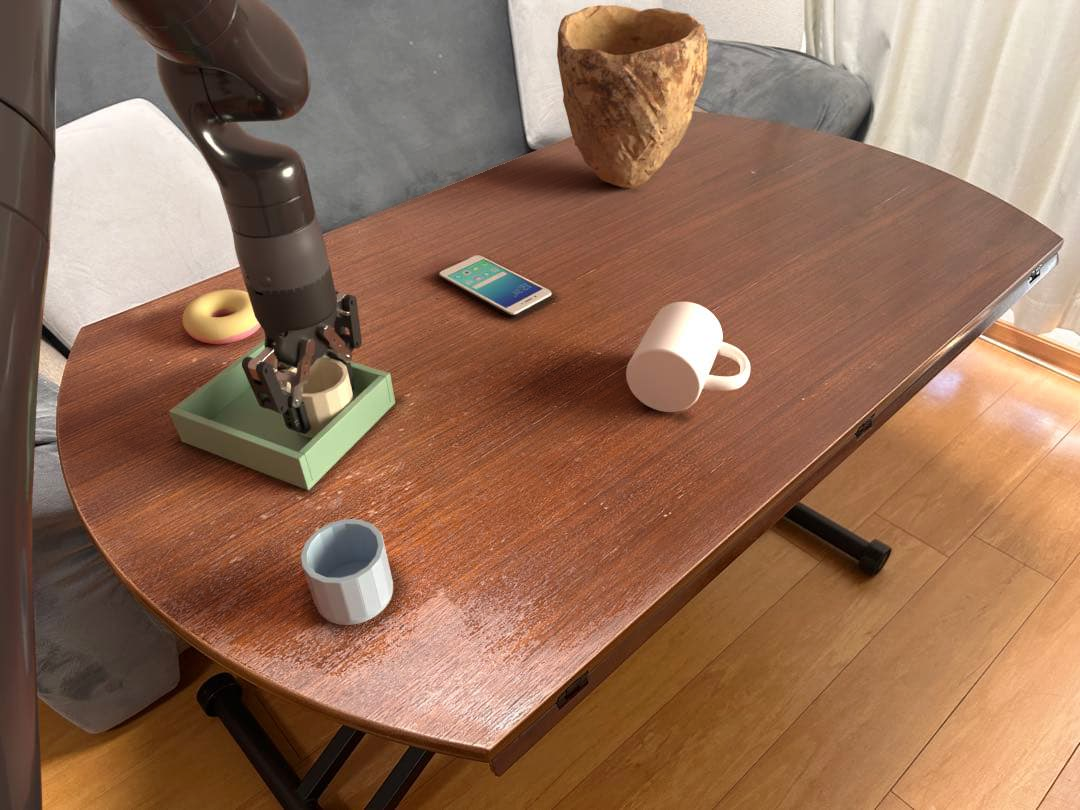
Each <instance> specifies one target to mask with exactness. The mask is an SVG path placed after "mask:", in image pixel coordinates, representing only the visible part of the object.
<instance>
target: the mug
mask: <svg viewBox="0 0 1080 810" xmlns="http://www.w3.org/2000/svg"><path fill="white" fill-rule="evenodd" d="M722 329H723V328H722V327H721V323H720V322H719V320H718V318H717V317H716V315H714V314H713V312H711V311H710V310H709V309H707V308H706V307H704V306H702V305H700V304H698V303H695V302H691V301H675V302H671V303H669V304H667V305H664V306H663V307H662V308H660V310H658V312H657V313H656V314H655V316H654V318H653V320H652V321H651V323H650V325H649V326H648V328H647V330H646V332H645V334H644V335H643V337H642V338H641V341H640V342H639V344H638V346H637V347H636V350H635V351H634V353H633V354H632V357H631V358H630V360H629V362H628V364H627V366H626V371H625V377H626V382H627V385H628V387H629V389H630V391H631V393H632V395H634V397H635V398H636V399H637V400H638V401H639V402H641V403H643V404H644V405H645V406H647V407H648V408H651V409H653V410H656V411H659V412H664V413H678V412H681V411H684V410H687V409H689V408H691V407H692V406H693V405H694V404H695V403H697V401H698V400H699V398H700V396H701V393H702V391H703V390H708V391H715V392H716V391H718V392H728V391H729V392H730V391H734V390H738V389H741V387H743V386H744V385H745V384H746V383H747V382H748V380H749V377H750V374H751V363H750V361H749V359H748V357H747V356H746V355H745V353H744V352H743V351H742V350H740V349H739V348H738V347H736V346H735V345H732V344H730V343H727V342H725V341H723V330H722ZM717 356H722V357H726V358H728V359H731V360H733V361H735V362H736V363H738V365H739V367H740V370H739V372H738V373H737V374H735V375H729V376H721V375H720V376H719V375H712V374H710V372H711V371H712V370H711V369H712V367H713V365H714V363H715V360H716V358H717Z"/></svg>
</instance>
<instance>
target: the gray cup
mask: <svg viewBox="0 0 1080 810" xmlns="http://www.w3.org/2000/svg"><path fill="white" fill-rule="evenodd" d="M300 562H301V568H302V571H303V574H304V576H305V579H306V582H307V585H308V589H309V591H310V595H311V597H312V600H313V603H314V605H315V607H316V610H317V611H318V613H319V614H320V615H321V616H322V617H323V619H325V620H327V621H328V622H330V623H333V624H335V625H341V626H354V625H358V624H363V623H365V622H367V621H369V620H371V619H374V618H376V616H378V615H379V614H380V613H382V611H384V610H385V608H386V607H387V606H388V604H389V603H390V602H391V599H392V597H393V593H394V581H393V576H392V571H391V568H390V563H389V559H388V554H387V549H386V545H385V541H384V537H383V533H382V532H381V530H379V529H378V527H376V526H375V525H374V524H373V523H371V522H367V521H365V520H363V519H355V518H354V519H353V518H351V519H350V518H344V519H340V520H336V521H332V522H329V523H327V524H325V525H323V526H322V527H321V528H319V529H316V530H315V531H314V532H313V533H312V534H311V536H310V537H308V539H307V540H306V541H305V542H304V545H303V547H302V549H301V553H300Z"/></svg>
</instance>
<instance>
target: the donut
mask: <svg viewBox="0 0 1080 810" xmlns="http://www.w3.org/2000/svg"><path fill="white" fill-rule="evenodd" d="M182 325H183V327H184V330H185V331H186V332H187V334H188V335H189V336H190V337H191V338H193V339H194V340H197V341H199V342H202V343H206V344H212V345H226V344H231V343H236V342H238V341H241V340H245V339H246V338H249V337H250V336H252V335H254V334H255V333H256V332H257V331H258V330H259V329H260V328H261V325H260V324H259V322H258V321H257V319H256V318H255V315H254V312H253V308H252V305H251V302H250V299H249V295H248V292H247V291H244V290H241V289H218V290H214V291H210V292H207V293H204V294H202V295H200V296H198V297H196V298H194V299H193V300H192V301H191V302H190V303H188V304H187V306H186V307H185V309H184V311H183V313H182Z"/></svg>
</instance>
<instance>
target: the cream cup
mask: <svg viewBox="0 0 1080 810" xmlns="http://www.w3.org/2000/svg"><path fill="white" fill-rule="evenodd" d="M288 371H291V372H294V373H297V368H294V367H291V368H290V369H289V370H288ZM286 391H287V392H290V391H291V384H290V383H289V382H287V390H286ZM353 400H354V397H353V393H352V388H351V384H350V380H349V375H348V371H347V367H346V366H345V365H344V364H343V363H342V362H341V361H338V360H335V359H332V358H318V359H317V360H316V361H315V362H314V364H313V365H312V366H311V367H310V373H309V380H308V383H306V384H304V386H303V394H302V402H304V405H305V408H306V412H307V416H308V419H309V423H310V426H311V430H309V431H308V432H307V433H306V434H302V433H300V434H301V435H303V436H305V437H308V438H314V437H315V436H316V435H317V434H318V433H319V432H320V431H321V430H322V429H323V428H325V427H326V426H327V425H328V424H329V423H330V422H331V421H332V420H333V419H334V418H335V417H336V416H337V415H338V414H339V413H340V412H342V411H343V410H344V409H345V408H346V407H347V406H348V405H349V404H350V403H351V402H352V401H353Z"/></svg>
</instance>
